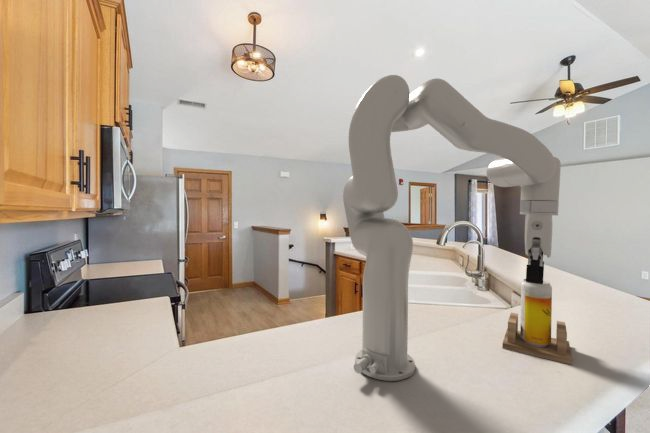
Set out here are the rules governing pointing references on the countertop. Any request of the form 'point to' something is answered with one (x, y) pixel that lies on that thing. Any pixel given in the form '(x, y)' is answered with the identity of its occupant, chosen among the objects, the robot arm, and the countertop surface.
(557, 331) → the holder
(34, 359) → the countertop surface
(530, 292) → the beer can
